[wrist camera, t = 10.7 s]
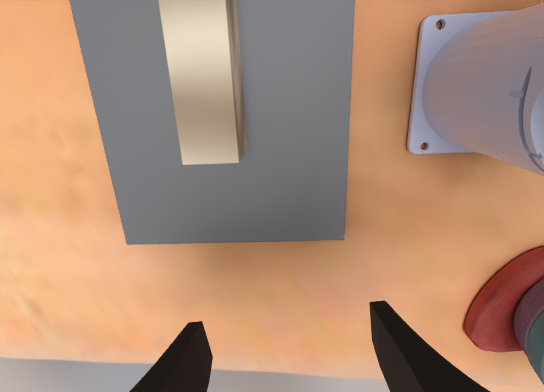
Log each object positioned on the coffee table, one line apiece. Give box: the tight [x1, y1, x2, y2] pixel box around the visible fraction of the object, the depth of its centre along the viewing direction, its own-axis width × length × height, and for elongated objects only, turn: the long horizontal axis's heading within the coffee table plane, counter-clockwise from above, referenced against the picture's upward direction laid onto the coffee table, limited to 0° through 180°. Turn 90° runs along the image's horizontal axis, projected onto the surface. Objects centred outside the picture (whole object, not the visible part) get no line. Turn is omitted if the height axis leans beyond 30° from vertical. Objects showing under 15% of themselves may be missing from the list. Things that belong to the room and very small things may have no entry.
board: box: [69, 0, 355, 245], centre depth 18 cm, size 16×28×1 cm, turn 3°
